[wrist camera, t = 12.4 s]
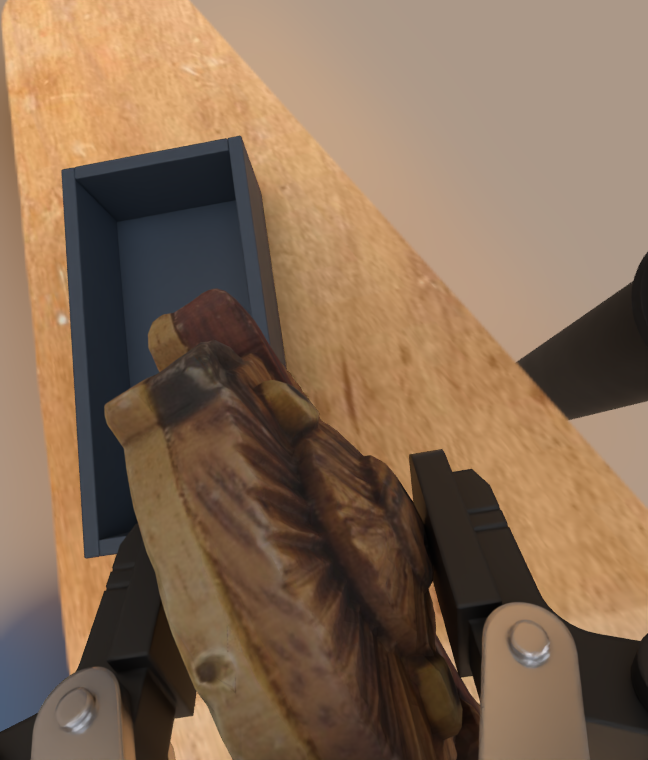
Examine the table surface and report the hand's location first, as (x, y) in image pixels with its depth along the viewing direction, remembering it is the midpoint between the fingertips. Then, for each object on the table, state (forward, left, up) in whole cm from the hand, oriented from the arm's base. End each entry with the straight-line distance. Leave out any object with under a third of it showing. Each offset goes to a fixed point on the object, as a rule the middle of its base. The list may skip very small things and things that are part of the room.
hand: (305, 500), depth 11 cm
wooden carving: (0, +2, -6) cm, 7 cm away
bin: (+7, -9, -19) cm, 22 cm away
